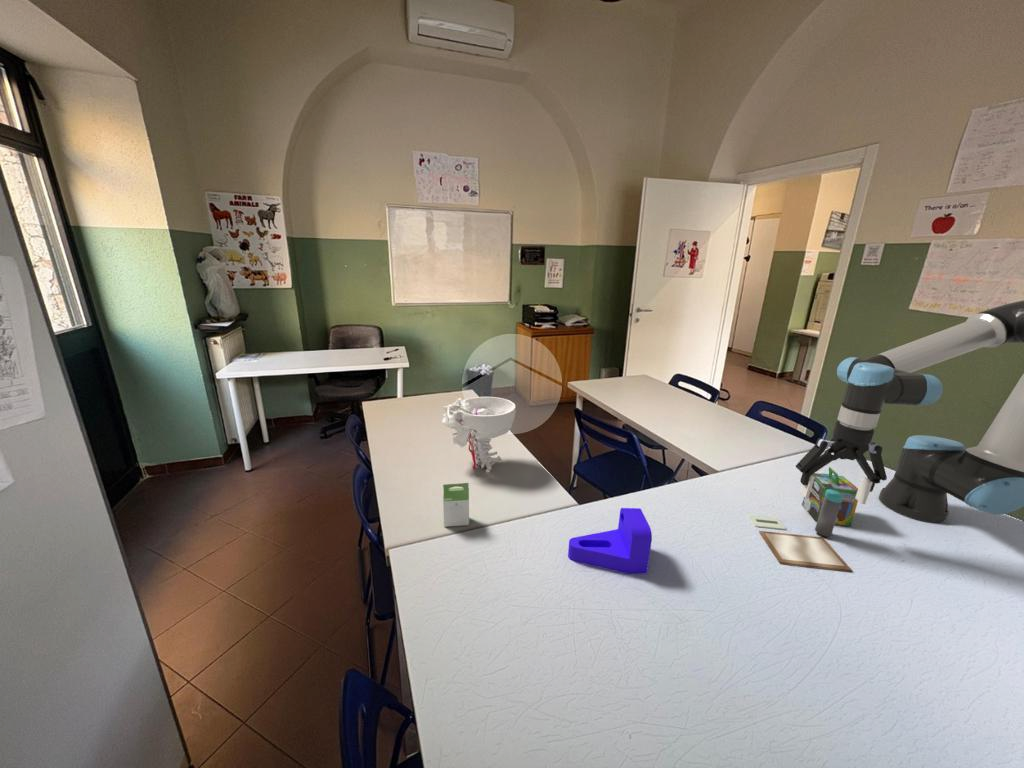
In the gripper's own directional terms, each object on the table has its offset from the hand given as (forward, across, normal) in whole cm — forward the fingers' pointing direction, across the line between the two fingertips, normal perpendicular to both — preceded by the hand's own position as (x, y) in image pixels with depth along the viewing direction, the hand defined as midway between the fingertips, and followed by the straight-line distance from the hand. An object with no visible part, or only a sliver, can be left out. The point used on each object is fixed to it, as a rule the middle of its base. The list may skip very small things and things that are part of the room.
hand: (831, 498), depth 107 cm
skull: (+13, +100, -20) cm, 103 cm away
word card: (+12, +12, -3) cm, 17 cm away
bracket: (+13, +60, +19) cm, 64 cm away
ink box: (+13, +99, +12) cm, 101 cm away
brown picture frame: (+12, +8, +8) cm, 16 cm away
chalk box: (+12, -7, -10) cm, 17 cm away
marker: (+12, -1, 0) cm, 12 cm away
